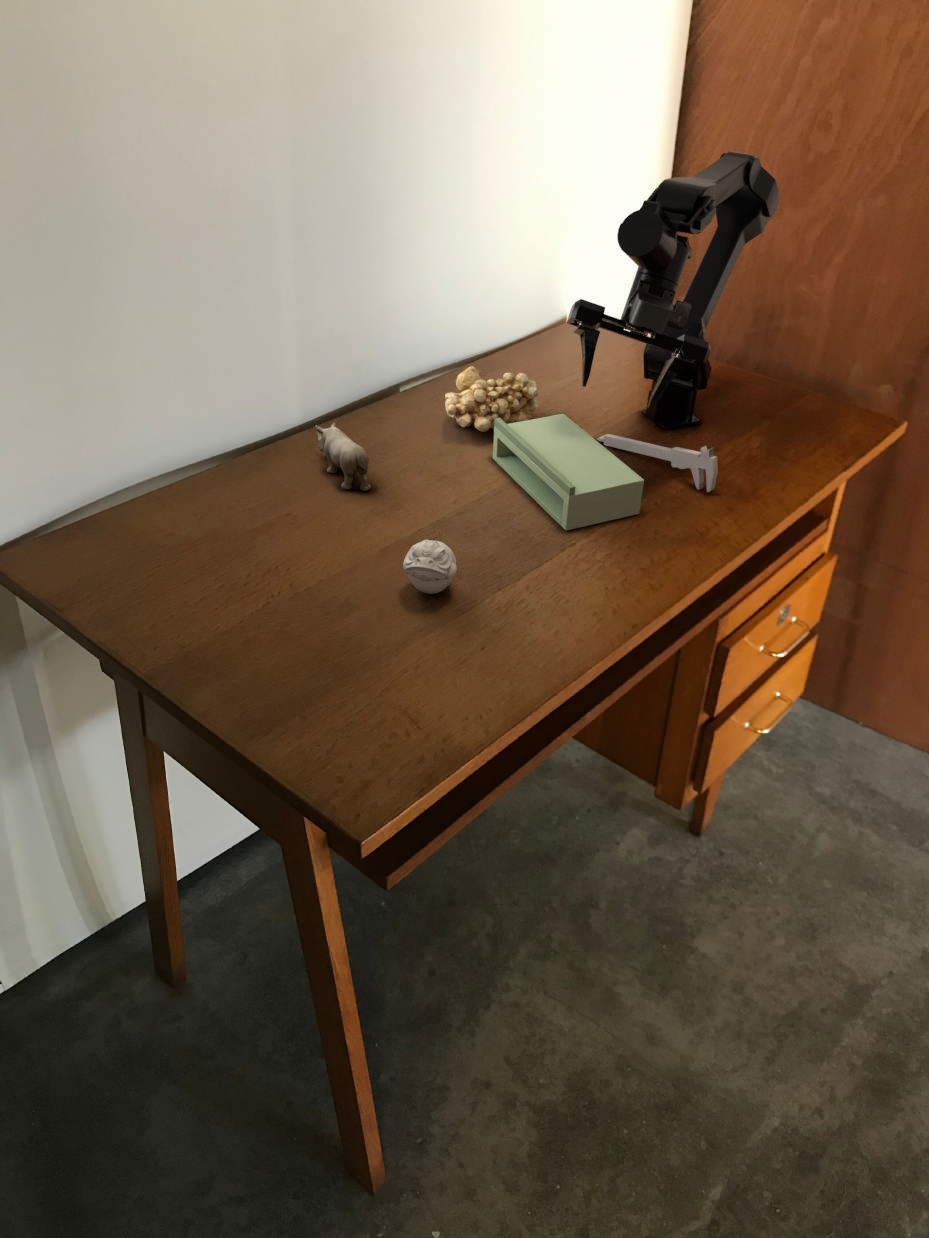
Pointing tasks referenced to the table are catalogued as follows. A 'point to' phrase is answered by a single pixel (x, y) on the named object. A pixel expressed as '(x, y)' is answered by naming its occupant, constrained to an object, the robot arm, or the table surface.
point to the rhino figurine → (343, 455)
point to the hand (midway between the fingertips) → (616, 397)
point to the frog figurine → (430, 566)
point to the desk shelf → (567, 471)
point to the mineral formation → (491, 399)
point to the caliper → (673, 457)
